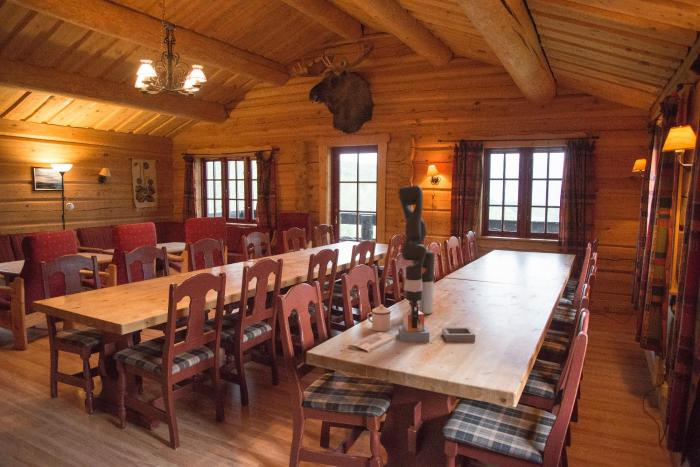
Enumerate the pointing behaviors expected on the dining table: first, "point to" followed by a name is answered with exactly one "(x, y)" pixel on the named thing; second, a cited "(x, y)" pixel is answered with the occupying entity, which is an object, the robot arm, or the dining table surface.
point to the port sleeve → (414, 335)
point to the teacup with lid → (380, 318)
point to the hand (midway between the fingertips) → (413, 325)
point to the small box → (408, 322)
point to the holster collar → (458, 334)
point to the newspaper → (373, 341)
